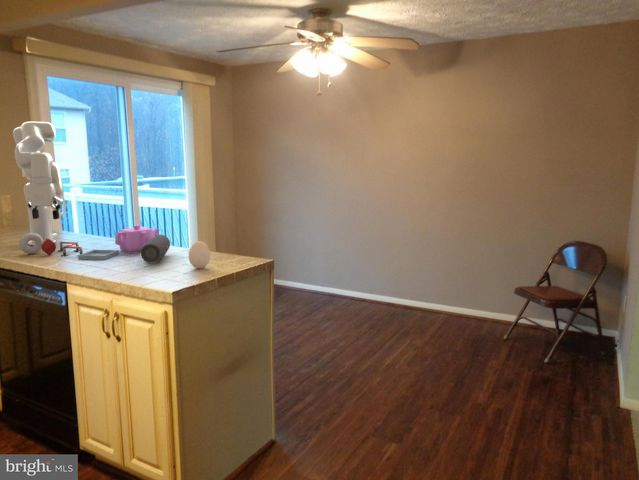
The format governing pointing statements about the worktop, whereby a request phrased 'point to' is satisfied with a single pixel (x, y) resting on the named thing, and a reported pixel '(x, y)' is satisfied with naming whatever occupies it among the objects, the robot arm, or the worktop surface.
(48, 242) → the onion
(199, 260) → the egg
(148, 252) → the bluetooth speaker
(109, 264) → the worktop surface
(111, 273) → the worktop surface
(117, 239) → the teakettle
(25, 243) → the donut
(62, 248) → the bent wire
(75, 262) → the worktop surface
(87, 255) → the dish
